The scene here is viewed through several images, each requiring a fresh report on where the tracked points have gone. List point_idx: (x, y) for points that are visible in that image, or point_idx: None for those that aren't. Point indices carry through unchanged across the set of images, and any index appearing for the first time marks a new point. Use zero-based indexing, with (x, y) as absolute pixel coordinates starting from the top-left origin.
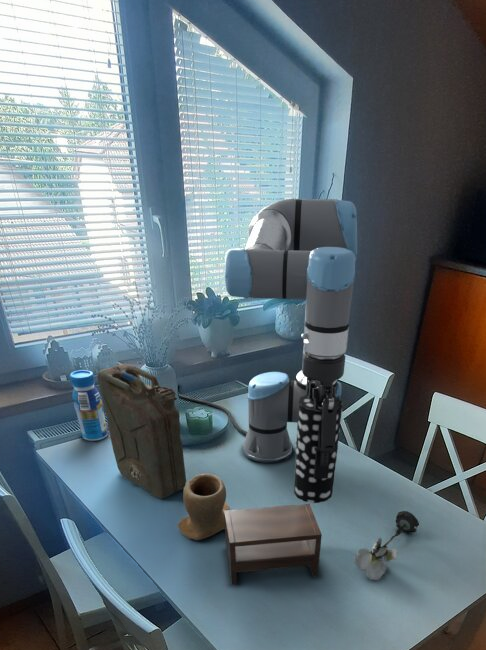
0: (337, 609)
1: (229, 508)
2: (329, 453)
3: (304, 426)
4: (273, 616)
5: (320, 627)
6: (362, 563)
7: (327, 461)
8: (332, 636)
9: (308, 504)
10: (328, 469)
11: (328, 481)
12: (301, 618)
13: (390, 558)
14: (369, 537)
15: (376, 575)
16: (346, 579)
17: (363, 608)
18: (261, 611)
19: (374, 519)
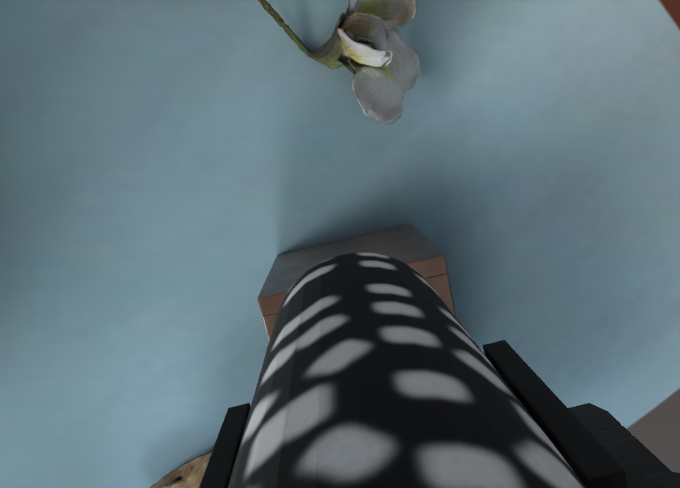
0: (533, 174)
1: (178, 484)
2: (598, 445)
3: None
4: (554, 323)
5: (591, 216)
6: (388, 99)
7: (621, 429)
8: (621, 189)
9: (263, 302)
10: (530, 368)
11: (453, 315)
12: (561, 261)
13: (377, 6)
14: (220, 63)
15: (407, 58)
16: (420, 146)
17: (530, 106)
18: (537, 350)
19: (118, 36)
